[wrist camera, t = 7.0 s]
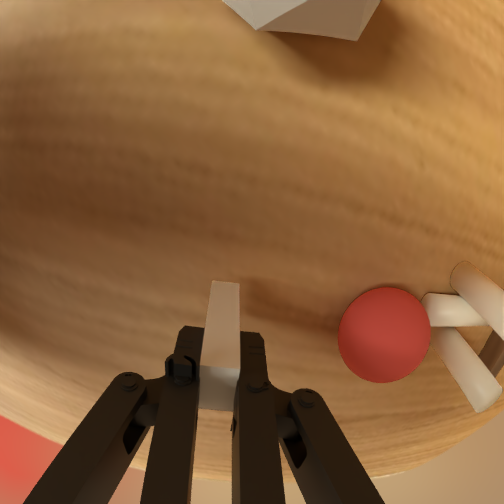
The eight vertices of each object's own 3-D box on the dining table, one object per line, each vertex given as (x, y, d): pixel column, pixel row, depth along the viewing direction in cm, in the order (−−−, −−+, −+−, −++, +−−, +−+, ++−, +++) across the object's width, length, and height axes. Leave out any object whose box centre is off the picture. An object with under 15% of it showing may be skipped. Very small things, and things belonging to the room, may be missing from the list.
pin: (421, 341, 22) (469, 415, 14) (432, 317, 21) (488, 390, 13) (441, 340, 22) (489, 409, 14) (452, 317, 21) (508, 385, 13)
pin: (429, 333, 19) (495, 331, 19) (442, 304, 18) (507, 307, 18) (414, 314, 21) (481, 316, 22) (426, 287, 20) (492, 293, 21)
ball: (409, 360, 20) (343, 325, 22) (449, 297, 17) (373, 258, 20) (389, 416, 15) (309, 371, 18) (445, 348, 12) (345, 295, 15)
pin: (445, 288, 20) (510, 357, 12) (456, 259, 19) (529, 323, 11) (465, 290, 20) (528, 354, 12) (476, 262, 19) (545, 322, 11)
